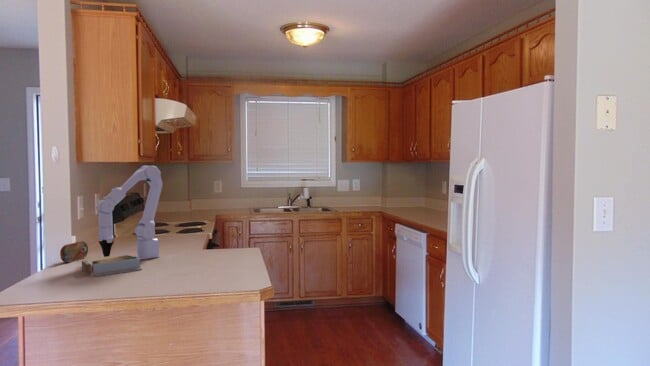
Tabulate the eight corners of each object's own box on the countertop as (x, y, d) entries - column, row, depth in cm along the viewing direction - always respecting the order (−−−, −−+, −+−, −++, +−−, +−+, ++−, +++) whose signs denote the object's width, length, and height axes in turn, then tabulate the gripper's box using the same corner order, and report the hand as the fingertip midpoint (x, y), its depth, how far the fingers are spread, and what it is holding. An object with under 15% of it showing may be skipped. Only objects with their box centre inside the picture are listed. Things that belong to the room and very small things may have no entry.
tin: (65, 264, 203) (64, 245, 203) (59, 264, 204) (58, 245, 203) (88, 257, 218) (88, 239, 217) (83, 257, 218) (82, 239, 218)
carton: (92, 270, 193) (91, 260, 192) (126, 263, 206) (126, 254, 206) (102, 273, 188) (102, 263, 188) (137, 265, 201) (137, 256, 201)
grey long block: (139, 268, 195) (139, 258, 195) (141, 269, 192) (141, 259, 192) (93, 275, 184) (93, 264, 184) (95, 276, 181) (94, 265, 181)
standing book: (86, 271, 190) (86, 259, 190) (91, 275, 183) (90, 263, 183) (82, 271, 189) (81, 260, 189) (86, 276, 182) (85, 264, 182)
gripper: (92, 225, 207) (93, 254, 208) (99, 229, 196) (100, 260, 196) (109, 224, 211) (110, 252, 212) (116, 227, 200) (117, 258, 201)
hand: (106, 256), depth 205 cm, fingers closed
